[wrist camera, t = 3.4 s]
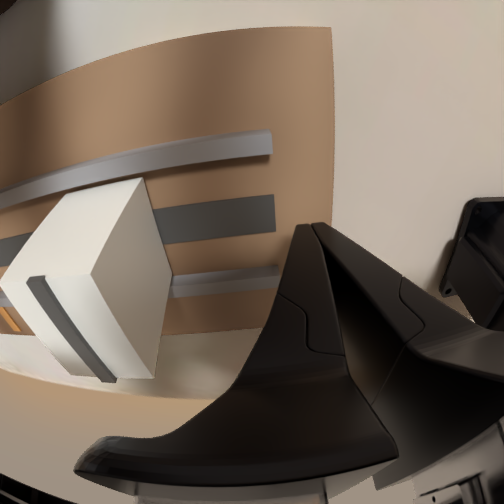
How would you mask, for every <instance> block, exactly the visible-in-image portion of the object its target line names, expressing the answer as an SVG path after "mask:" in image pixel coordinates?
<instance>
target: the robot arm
mask: <svg viewBox="0 0 504 504" xmlns="http://www.w3.org/2000/svg"><path fill="white" fill-rule="evenodd" d="M439 292H440V294H441V295H442V297H449V296H453V295H457V294H458V295H459V297H460V299H461V300H462V302H463V303H464V305H465V307H466V308H467V310H468V311H469V313H470V315H471V316H472V318H473V320H474V322H475V323H474V322H472V321H471V320H469V319H468V318H466V317H465V316H463V315H461V314H460V313H458V312H457V311H455V310H454V309H452V308H450V307H449V306H447V305H446V304H444V303H442V302H441V301H439V300H438V299H436V298H435V297H433V296H432V295H430V294H428V293H427V292H425V291H424V290H423V289H421V288H420V287H418V286H417V285H415V284H414V283H413V282H411V281H410V280H408V279H407V278H406V277H404V276H403V277H402V275H401V274H400V273H399V272H397V271H396V270H394V269H393V268H392V267H390V266H389V265H387V264H386V263H384V262H383V261H382V260H380V259H379V258H377V257H376V256H374V255H373V254H371V253H370V252H368V251H367V250H366V249H364V248H363V247H361V246H360V245H358V244H357V243H355V242H354V241H352V240H351V239H349V238H348V237H346V236H345V235H343V234H342V233H340V232H339V231H337V230H336V229H334V228H333V227H331V226H329V225H328V224H326V223H325V222H316V223H311V224H309V223H306V224H297V225H296V226H295V230H294V233H293V237H292V240H291V244H290V247H289V251H288V254H287V258H286V261H285V265H284V268H283V272H282V275H281V279H280V282H279V286H278V289H277V292H276V295H275V298H274V302H273V305H272V308H271V311H270V313H269V316H268V319H267V321H266V323H265V325H264V328H263V330H262V332H261V334H260V336H259V338H258V340H257V342H256V344H255V345H254V347H253V349H252V351H251V353H250V355H249V357H248V359H247V361H246V362H245V364H244V366H243V368H242V370H241V372H240V373H239V375H238V377H237V378H236V380H235V381H234V383H233V384H232V385H231V387H230V388H229V389H228V390H227V391H226V392H225V393H224V394H223V395H221V396H220V397H219V398H218V399H216V400H215V401H214V402H213V403H211V404H210V405H209V406H207V407H206V408H205V409H203V410H202V411H201V412H200V413H198V414H197V415H195V416H194V417H193V418H191V419H190V420H189V421H187V422H186V423H185V424H183V425H182V426H181V427H179V428H178V429H176V430H175V431H173V432H171V433H168V434H165V435H163V436H159V437H153V438H132V437H121V436H106V437H102V438H100V439H98V440H97V441H96V442H95V443H94V444H93V445H91V446H90V447H89V448H88V449H87V450H86V451H85V452H84V453H83V454H82V455H81V457H80V458H79V459H78V461H77V463H76V464H75V466H74V470H73V471H74V473H75V474H77V475H78V476H80V477H82V478H84V479H87V480H89V481H92V482H94V483H97V484H99V485H102V486H105V487H107V488H111V489H113V490H116V491H119V492H122V493H125V494H128V495H132V496H134V504H329V502H328V499H330V498H332V497H334V496H336V495H338V494H340V493H342V492H344V491H346V490H348V489H349V488H351V487H353V486H355V485H357V484H358V483H360V482H362V481H364V480H365V479H367V478H369V477H370V476H373V480H374V484H375V488H376V490H380V489H384V488H387V487H390V486H393V485H396V484H399V483H402V482H405V481H407V480H410V479H412V482H413V486H414V490H415V494H416V499H414V500H413V504H504V197H484V198H473V199H472V200H471V201H470V202H469V204H468V206H467V209H466V213H465V216H464V220H463V223H462V226H461V230H460V233H459V236H458V239H457V242H456V245H455V248H454V251H453V254H452V256H451V259H450V262H449V265H448V267H447V270H446V273H445V275H444V278H443V280H442V283H441V285H440V288H439ZM0 504H77V503H74V502H71V501H68V500H64V499H62V498H59V497H56V496H53V495H51V494H48V493H45V492H43V491H40V490H37V489H35V488H32V487H30V486H28V485H25V484H23V483H21V482H19V481H16V480H14V479H12V478H10V477H8V476H6V475H4V474H2V473H0Z"/></svg>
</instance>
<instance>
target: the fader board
mask: <svg viewBox="0 0 504 504" xmlns="http://www.w3.org/2000/svg"><path fill="white" fill-rule="evenodd" d="M334 143H335V107H334V69H333V49H332V33H331V27H263V28H249V29H238V30H228V31H220V32H213V33H206V34H199V35H193V36H188V37H182V38H177V39H173V40H168V41H163V42H159V43H155V44H151V45H147V46H143V47H139V48H135V49H132V50H128V51H125V52H122V53H118V54H115V55H112V56H109V57H106V58H103V59H100V60H97V61H94V62H92V63H89V64H86V65H83V66H81V67H78V68H76V69H73V70H71V71H68V72H66V73H64V74H61V75H59V76H57V77H54V78H52V79H50V80H48V81H46V82H43V83H41V84H39V85H37V86H35V87H33V88H31V89H29V90H27V91H25V92H23V93H21V94H20V95H18V96H16V97H14V98H12V99H10V100H9V101H7V102H5V103H3V104H2V105H0V279H1V278H2V276H3V275H4V273H5V272H6V270H7V269H8V267H9V266H10V264H11V263H12V262H13V260H14V259H15V257H16V256H17V254H18V253H19V252H20V250H21V249H22V248H23V246H24V245H25V243H26V242H27V241H28V239H29V238H30V237H31V236H32V234H33V233H34V232H35V230H36V229H37V228H38V227H39V225H40V224H41V223H42V222H43V220H44V219H45V218H46V217H47V215H48V214H49V213H50V212H51V211H52V209H53V208H54V207H55V206H56V205H57V204H58V202H59V201H60V200H61V199H62V198H63V197H64V196H65V195H66V194H67V193H71V192H75V191H79V190H83V189H87V188H92V187H96V186H101V185H105V184H110V183H114V182H119V181H124V180H129V179H134V178H139V177H143V180H144V183H145V187H146V191H147V194H148V198H149V201H150V205H151V208H152V212H153V215H154V218H155V222H156V225H157V228H158V231H159V235H160V238H161V241H162V244H163V247H164V250H165V253H166V256H167V259H168V262H169V265H170V268H171V271H172V277H171V282H170V287H169V292H168V298H167V303H166V309H165V314H164V320H163V326H162V332H161V335H175V334H192V333H206V332H218V331H230V330H241V329H251V328H260V327H264V325H265V323H266V321H267V319H268V316H269V313H270V311H271V308H272V305H273V302H274V298H275V295H276V292H277V289H278V286H279V282H280V279H281V275H282V272H283V268H284V265H285V261H286V258H287V254H288V251H289V247H290V244H291V240H292V237H293V233H294V230H295V226H296V225H297V224H306V223H309V224H311V223H316V222H325V223H326V224H328V225H329V226H331V222H332V205H333V183H334ZM0 334H14V335H32V336H36V335H35V334H34V332H33V331H32V330H31V328H30V327H29V326H28V325H27V323H26V322H25V321H24V319H23V318H22V317H21V315H20V314H19V313H18V311H17V310H16V309H15V307H14V306H13V304H12V303H11V302H10V300H9V299H8V297H7V296H6V294H5V293H4V291H3V290H2V288H1V287H0Z"/></svg>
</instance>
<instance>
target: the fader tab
mask: <svg viewBox="0 0 504 504" xmlns="http://www.w3.org/2000/svg"><path fill="white" fill-rule="evenodd" d="M171 277H172V271H171V268H170V265H169V262H168V259H167V256H166V253H165V250H164V247H163V244H162V241H161V238H160V235H159V231H158V228H157V225H156V222H155V218H154V215H153V212H152V208H151V205H150V201H149V198H148V194H147V191H146V187H145V183H144V180H143V177H139V178H134V179H129V180H124V181H119V182H114V183H110V184H105V185H101V186H96V187H92V188H87V189H83V190H79V191H75V192H71V193H67V194H66V195H65V196H64V197H63V198H62V199H61V200H60V201H59V202H58V204H57V205H56V206H55V207H54V208H53V209H52V211H51V212H50V213H49V214H48V215H47V217H46V218H45V219H44V220H43V222H42V223H41V224H40V225H39V227H38V228H37V229H36V230H35V232H34V233H33V234H32V236H31V237H30V238H29V239H28V241H27V242H26V243H25V245H24V246H23V248H22V249H21V250H20V252H19V253H18V254H17V256H16V257H15V259H14V260H13V262H12V263H11V264H10V266H9V267H8V269H7V270H6V272H5V273H4V275H3V276H2V278H1V279H0V287H1V288H2V290H3V291H4V293H5V294H6V296H7V297H8V299H9V300H10V302H11V303H12V304H13V306H14V307H15V309H16V310H17V311H18V313H19V314H20V315H21V317H22V318H23V319H24V321H25V322H26V323H27V325H28V326H29V327H30V328H31V330H32V331H33V332H34V334H35V335H36V336H37V337H38V338H39V340H40V341H41V342H42V343H43V344H44V346H45V347H46V348H47V349H48V350H49V351H50V353H51V354H52V355H53V356H54V357H55V358H56V359H57V360H58V362H59V363H60V364H61V365H62V366H63V367H64V368H65V369H66V370H67V371H68V372H69V373H70V374H71V375H77V376H90V377H98V378H99V379H100V380H101V382H107V383H116V381H117V378H134V379H154V378H155V371H156V364H157V357H158V350H159V344H160V338H161V332H162V326H163V320H164V314H165V309H166V303H167V298H168V292H169V287H170V282H171Z"/></svg>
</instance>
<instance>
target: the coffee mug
mask: <svg viewBox="0 0 504 504" xmlns="http://www.w3.org/2000/svg"><path fill="white" fill-rule="evenodd" d="M16 1H17V0H0V15H1V14H3V13H4V12H5V11H6V10H8V9H9V8H10V7H11V6H12V5H13V4H14V3H15V2H16Z"/></svg>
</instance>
